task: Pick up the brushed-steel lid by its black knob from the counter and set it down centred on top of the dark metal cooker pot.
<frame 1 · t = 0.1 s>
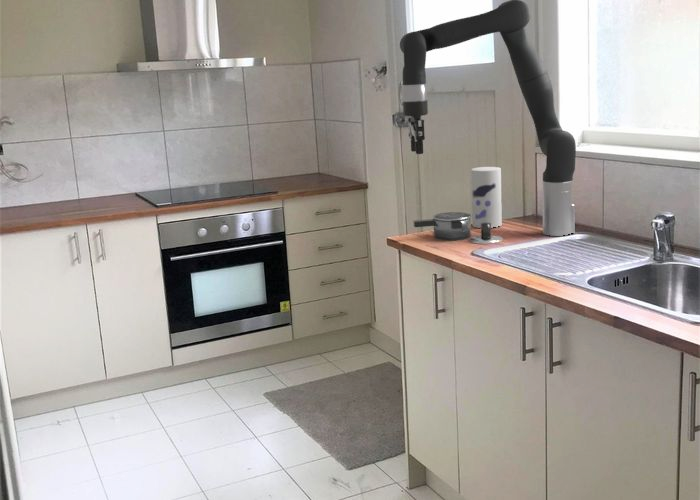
hand: (417, 152, 242), 29 cm above the table, fingers open, 8 cm apart
pot: (452, 236, 256), on the table
lid: (486, 241, 248), on the table
container: (487, 226, 270), on the table
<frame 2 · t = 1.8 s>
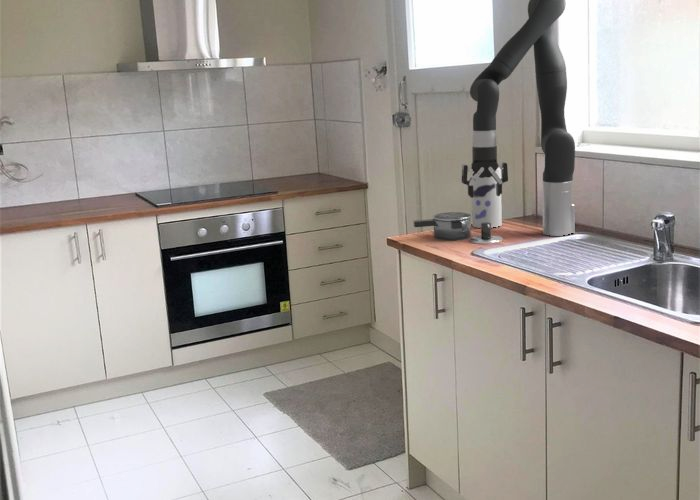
hand: (484, 196, 245), 14 cm above the table, fingers open, 8 cm apart
nothing on the table moved.
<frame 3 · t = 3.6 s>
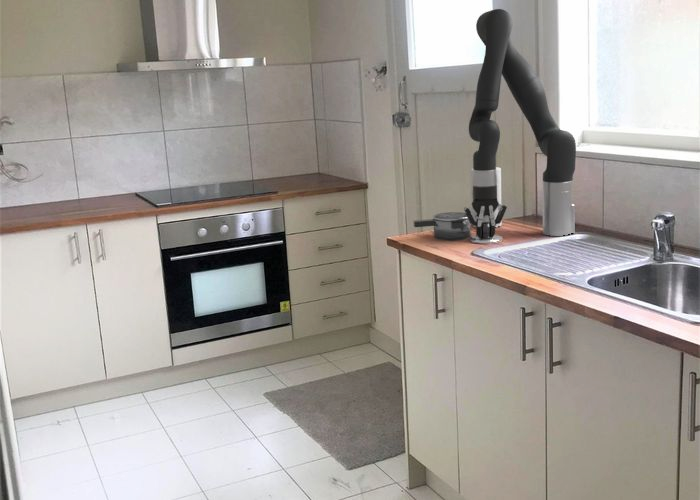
hand: (485, 237, 248), 1 cm above the table, fingers closed on lid, 3 cm apart
lid: (485, 240, 248), on the table, touching gripper
everything else where it was.
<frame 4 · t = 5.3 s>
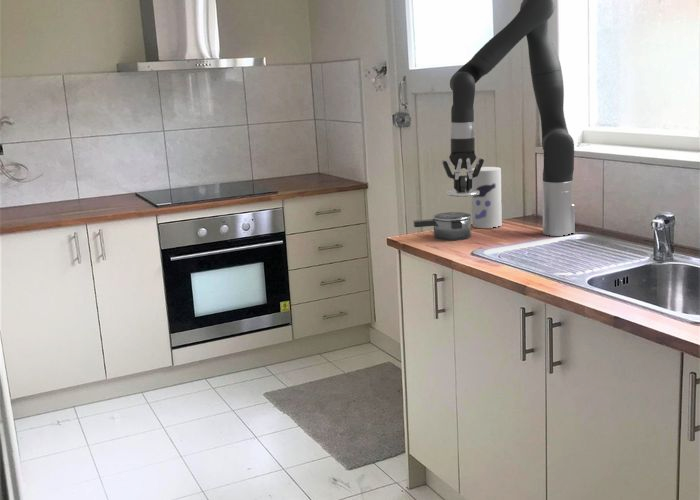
hand: (462, 190, 249), 16 cm above the table, fingers closed on lid, 3 cm apart
lid: (463, 193, 250), point 15 cm above the table, touching gripper
everything else where it was.
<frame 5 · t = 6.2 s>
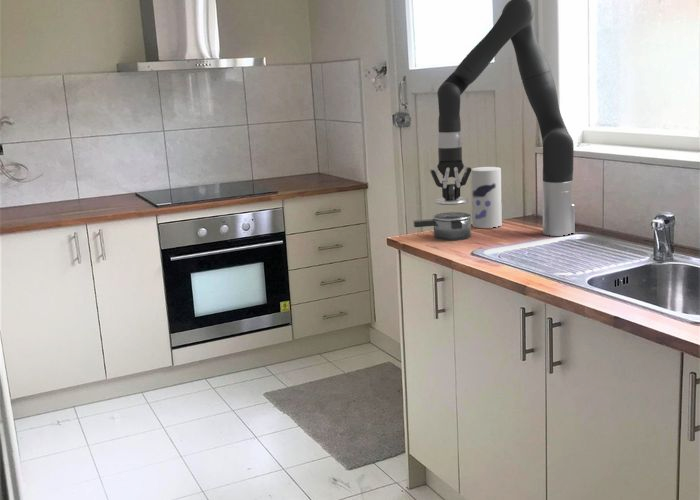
hand: (451, 198, 254), 13 cm above the table, fingers closed on lid, 3 cm apart
lid: (451, 202, 254), point 12 cm above the table, touching gripper
everything else where it was.
when the fingers open (9 cm above the table, at t = 7.0 s): lid drops 1 cm, resting on pot.
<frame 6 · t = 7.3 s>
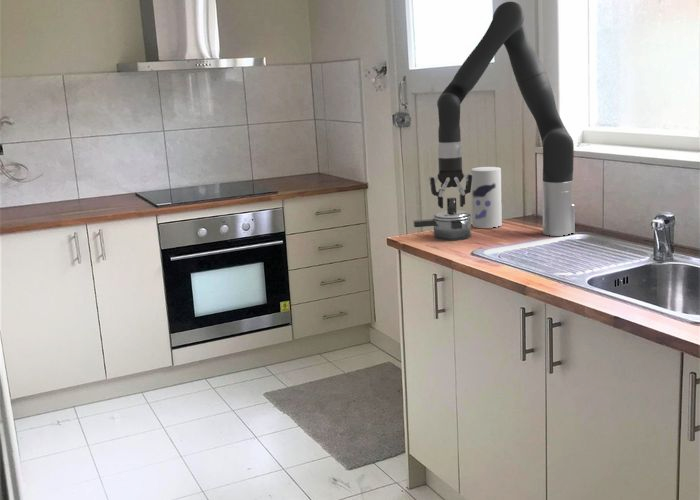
hand: (451, 207, 254), 10 cm above the table, fingers open, 6 cm apart
lid: (452, 215, 255), point 7 cm above the table, touching pot
everything else where it was.
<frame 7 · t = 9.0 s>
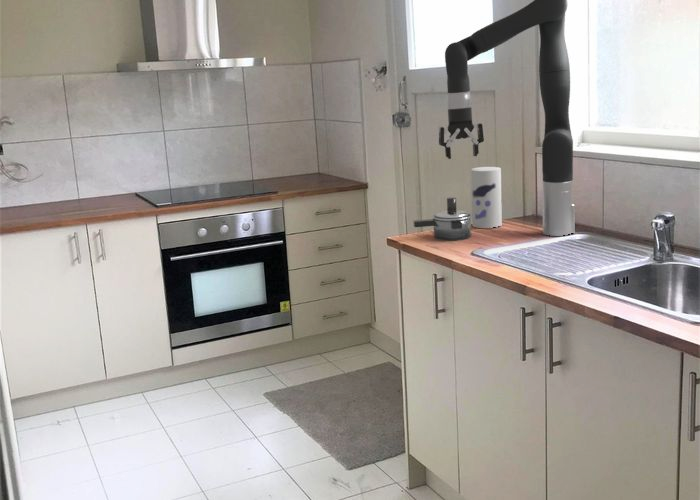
hand: (462, 157, 252), 26 cm above the table, fingers open, 8 cm apart
nothing on the table moved.
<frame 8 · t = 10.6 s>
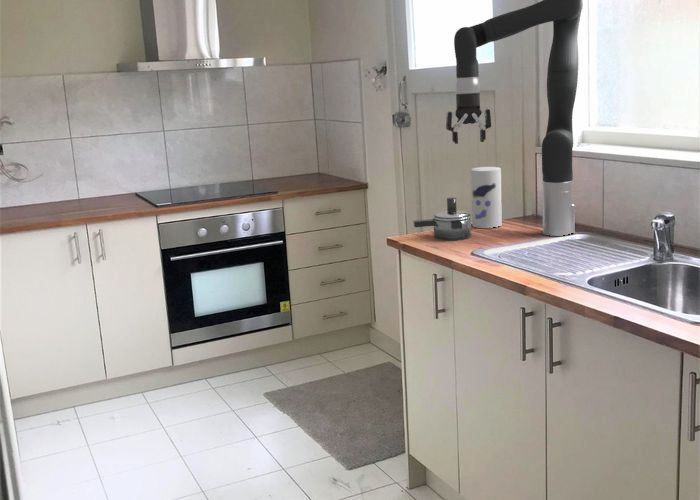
hand: (469, 142, 253), 30 cm above the table, fingers open, 8 cm apart
nothing on the table moved.
at the end: lid 0.1 cm off-centre on the pot, point 7.0 cm above the pot's base; lid tilted 0°; the gripper is holding nothing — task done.
